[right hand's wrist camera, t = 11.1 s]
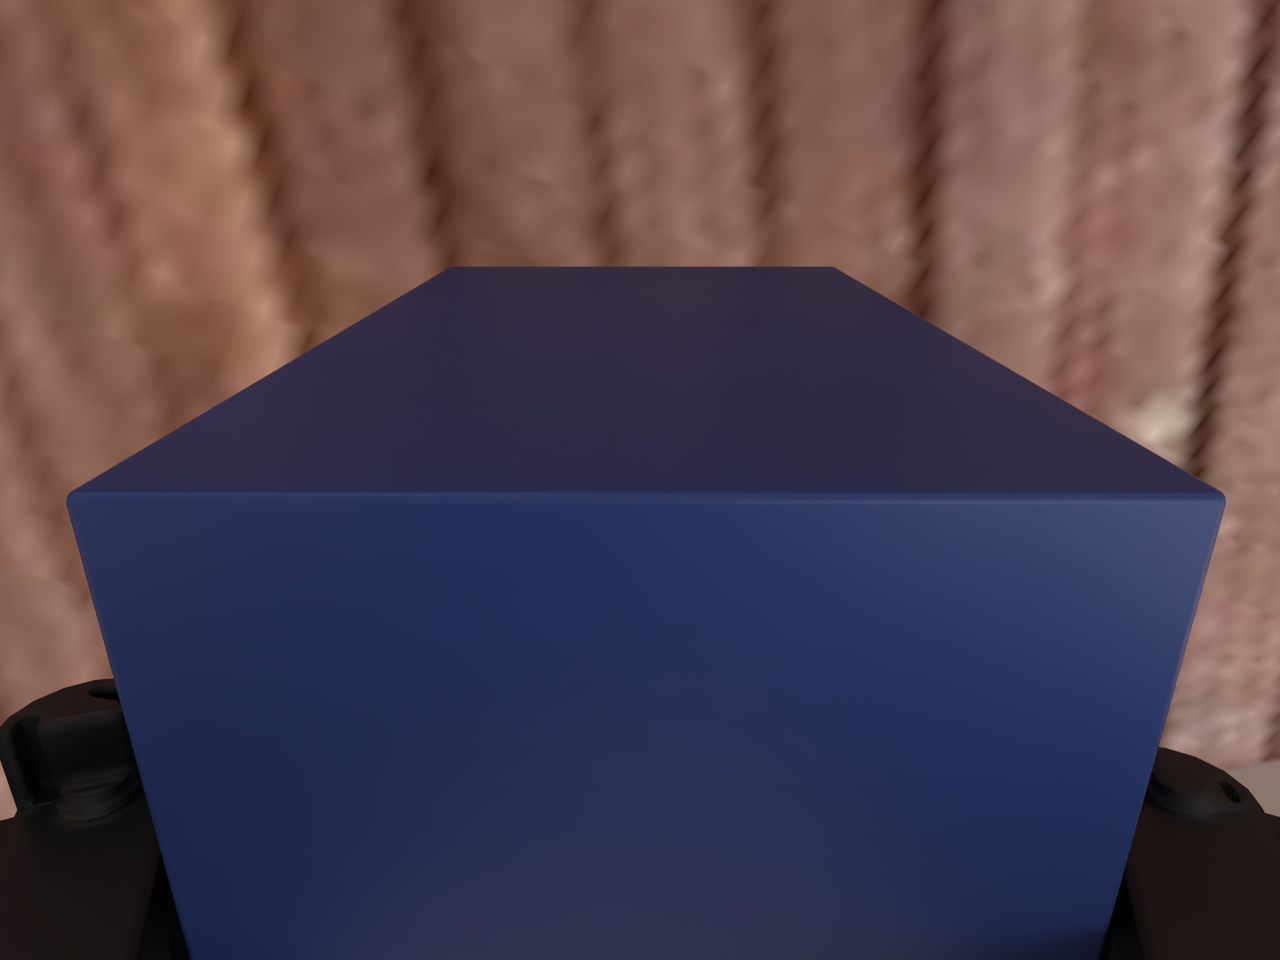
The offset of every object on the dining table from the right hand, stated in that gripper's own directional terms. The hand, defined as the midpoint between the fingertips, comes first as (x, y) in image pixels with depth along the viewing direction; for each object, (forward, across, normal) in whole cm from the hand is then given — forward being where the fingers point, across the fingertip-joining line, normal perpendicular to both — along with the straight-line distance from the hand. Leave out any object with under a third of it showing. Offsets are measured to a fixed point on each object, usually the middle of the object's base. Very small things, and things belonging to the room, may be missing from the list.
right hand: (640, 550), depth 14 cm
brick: (+2, 0, 0) cm, 2 cm away
